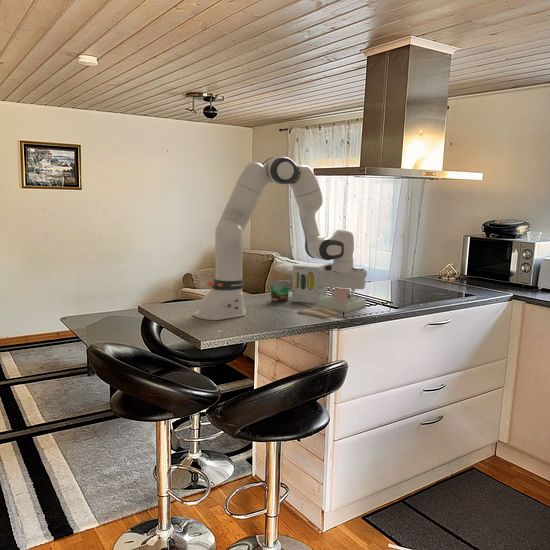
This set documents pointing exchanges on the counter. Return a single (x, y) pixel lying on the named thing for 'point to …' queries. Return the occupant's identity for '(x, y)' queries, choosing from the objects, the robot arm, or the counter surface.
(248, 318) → the counter surface
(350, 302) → the bin
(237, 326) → the counter surface
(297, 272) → the supplement box
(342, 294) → the block
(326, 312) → the pad
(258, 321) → the counter surface
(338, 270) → the robot arm
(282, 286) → the food container
